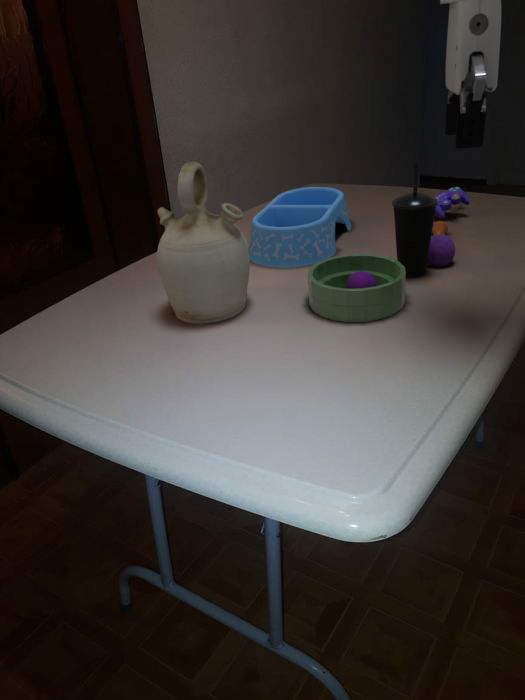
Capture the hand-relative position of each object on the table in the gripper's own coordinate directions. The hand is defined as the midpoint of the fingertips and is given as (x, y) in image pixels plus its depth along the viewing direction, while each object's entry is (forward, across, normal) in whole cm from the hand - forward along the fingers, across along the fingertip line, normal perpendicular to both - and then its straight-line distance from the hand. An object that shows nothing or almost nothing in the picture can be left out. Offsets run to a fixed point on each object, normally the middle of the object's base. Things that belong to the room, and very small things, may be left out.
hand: (462, 140), depth 73 cm
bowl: (+26, +6, +14) cm, 30 cm away
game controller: (+26, +53, -6) cm, 60 cm away
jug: (+26, +5, +39) cm, 47 cm away
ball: (+23, +6, +13) cm, 27 cm away
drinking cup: (+26, +18, +4) cm, 32 cm away
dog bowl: (+26, +39, +26) cm, 54 cm away
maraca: (+26, +29, -2) cm, 39 cm away
